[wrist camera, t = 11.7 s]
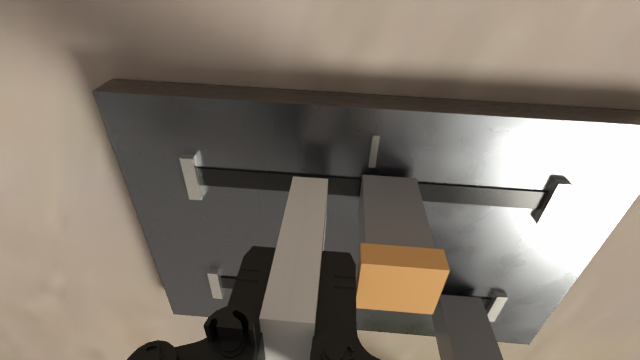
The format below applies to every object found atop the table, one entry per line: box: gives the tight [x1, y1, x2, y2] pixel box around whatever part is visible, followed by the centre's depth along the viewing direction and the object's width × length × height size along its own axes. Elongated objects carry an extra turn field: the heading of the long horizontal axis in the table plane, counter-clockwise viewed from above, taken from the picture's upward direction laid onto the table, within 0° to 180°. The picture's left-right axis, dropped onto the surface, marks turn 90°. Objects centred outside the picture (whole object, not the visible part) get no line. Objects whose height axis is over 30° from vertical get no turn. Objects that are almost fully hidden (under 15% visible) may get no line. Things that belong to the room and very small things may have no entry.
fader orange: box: [356, 175, 450, 314], centre depth 14 cm, size 3×2×5 cm
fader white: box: [431, 295, 503, 360], centre depth 18 cm, size 3×2×5 cm
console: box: [92, 79, 640, 345], centre depth 19 cm, size 24×16×2 cm, turn 88°
